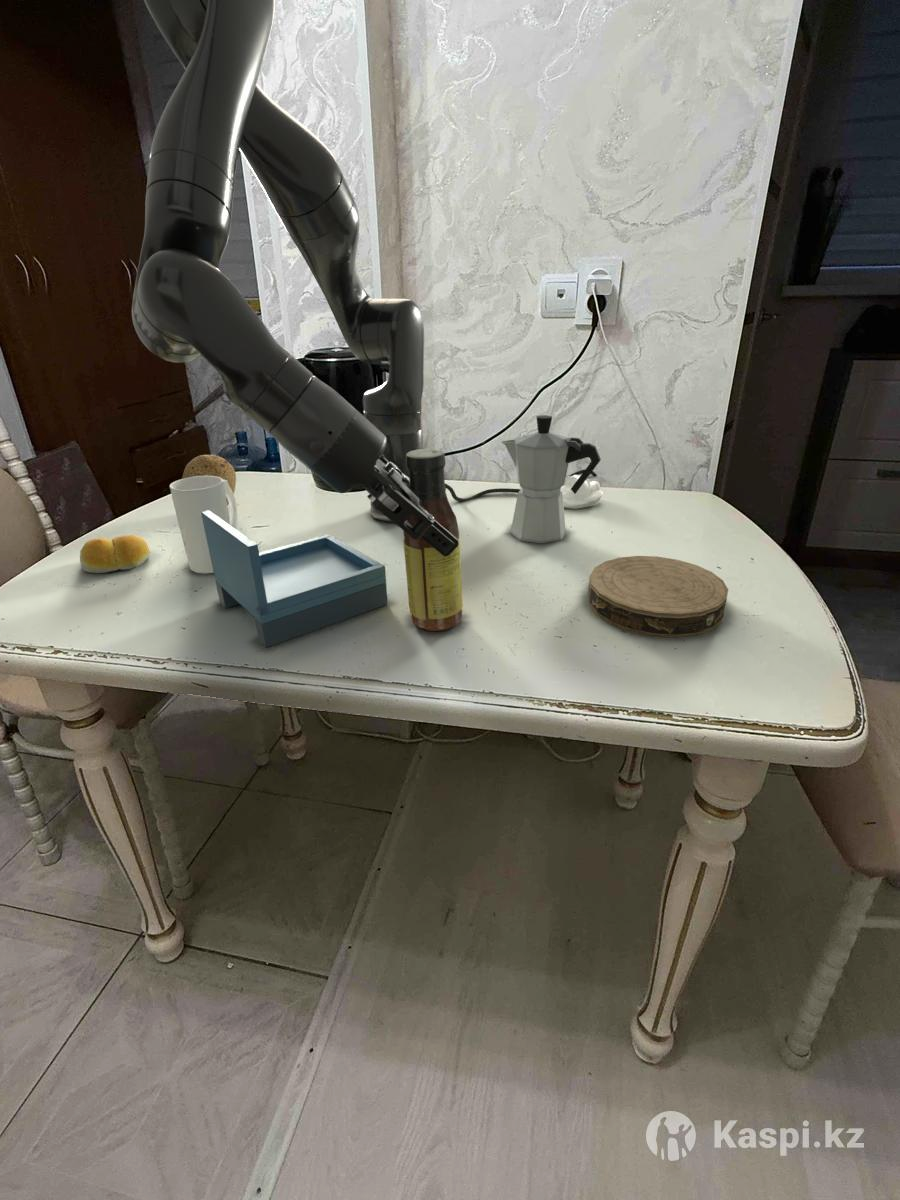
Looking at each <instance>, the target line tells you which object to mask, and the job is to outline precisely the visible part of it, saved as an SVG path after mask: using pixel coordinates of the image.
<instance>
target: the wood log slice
mask: <svg viewBox="0 0 900 1200" xmlns="http://www.w3.org/2000/svg"><path fill="white" fill-rule="evenodd" d="M592 569H593V570H592V571H591V572H590V574H589V581H588V593H587V600H588V606H589V607H590V609H591V611H593V613H594V614H595V615H596V616H597V617H599V618H600V619H602V620H604V621H605V622H607V623H608V624H610V625H612V626H615V627H616V628H620V629H623V630H625V631H628V632H631V633H635V634H640V635H644V636H650V637H657V638H658V637H659V638H684V637H693V636H698V635H702V634H704V633H707V632H710V631H712V630H714V629H715V628H716V627H718V626H719V625H720V624H721V623H722V622H723V618H724V615H725V608H726V605H727V599H728V593H729V588H728V586H727V584H726V583H725V581H724V580H723V579H722V578H721V577H719V576H718V575H717V574H715V573H714V572H712V571H710V570H708V569H706V568H704V567H701V566H700V565H697V564H695V563H691V562H687V561H684V560H680V559H676V558H668V557H663V556H656V555H655V556H654V555H653V556H651V555H650V556H649V555H632V556H622V557H621V556H619V557H616V558H612V559H609V560H606V561H604V562H601V563H599V564H598V565H596V566H594V568H592Z"/></svg>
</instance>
